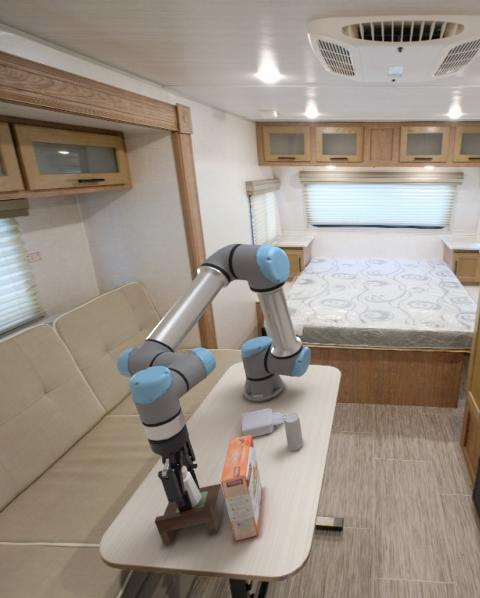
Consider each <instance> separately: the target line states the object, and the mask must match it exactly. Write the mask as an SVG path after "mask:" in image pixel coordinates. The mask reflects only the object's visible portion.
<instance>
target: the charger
mask: <svg viewBox="0 0 480 598" xmlns="http://www.w3.org/2000/svg"><path fill="white" fill-rule="evenodd" d="M287 414H288V413H286V414H283V412H276V413H274V411H273V409H272V408H270V407H268V408H263V409H258V410H253V411H248V412H244V413H242V423H241V433H242V436H247V435H252V436H253V438H255V437H260V436H263V435H264V436H265V435H268V434H272V432H273V431H275V430H274V429H275V427H274V426H278V425H281V424H283V423H284V418H285V416H286V415H287Z"/></svg>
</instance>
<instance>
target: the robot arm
mask: <svg viewBox="0 0 480 598" xmlns="http://www.w3.org/2000/svg"><path fill="white" fill-rule="evenodd" d="M290 264H291V263H290V260H289V257H288V256H287V254H286V252H285V251H284V250H283V249H282V248H280V247H279V246H276V245H275V246H274V245H269V244H246V243H232V244H227V245H225V246H223V247H221V248H220V249H218V250H216V251H215V252H214V253H212V254H211V255H209V256H208V257H207V258H206V259H205V260H204V261H203V262H202V263H201V264H200V265H199V267H198V268H197V271H196V272H197V275H196V276H195V278H194V279H193V280H192V281H191V283H190V284H189V286H187V288H186V289H185V290H184V291H183V292H182V294H181V295H180V297H178V299H177V300H176V301H175V302H174V304H173V305H172V306H171V307H170V309H169V310H168V311H167V312H166V313H165V314H164V316H163V317H162V319H161V320H160V321H159V322H158V324H156V326H155V327H154V328H153V330H152V331H151V332H150V334H149V335H148V336H147V337H146V339H144V341H143V342H142V343H141V344H140V346H136V347H130V348H127V349H125V350H123V351H122V352H121V353H120V354H119V356H118V359H117V361H116V368H117V371H118V373H120V374H121V375H122V376H124V377H127V378H130V379H129V382H128V385H129V391H130V395H131V400H132V402H133V403H134V405H135V408H136V410H137V414H138V416H139V418H140V421H141V426H142V427H143V429H144V432H145V434H146V437H147V441H148V444H149V446H150V449H151V452H152V453H154V454H155V455H158V456H160V457H161V463H162V465H163V469H162V470H160V471H158V473H157V477H158V479H159V480H160V481H161V484H162V486H163V490H164V492H165V496H166V499H167V503H172V502H176V504H177V506H178V509H179V512H182V511H186V510H191V509H193V507H192V504H191V500H190V497H189V494H188V491H187V490H185V488H184V482H183V476H182V467H183V466H186V467H187V472H190V474H191V476H192V478H193V480H194V482H195V484H196V486H197V488H198V490H199V488H201V487H200V484H199V481H198V478H197V475H196V471H195V469H197V468H198V463H194V462H196V460H197V458H196V455H195V452H194V449H193V445H192V442H191V440H190V433H189V429H188V426H187V423H186V419H185V416H184V413H183V410H182V406H181V402H180V399H181V398H182V397H184V396H185V395H187V393H188V392H190V390H192V389H193V388H194V387H196V386H197V385H198V384H200V383H201V382H202V381H204V380H206V379H207V378H208V376H209V375H211V373H213V372H214V370H215V369H216V367H217V361H216V358H215V355H214V354H213V352H211V351H210V350H208V349H207V348H205V347H196V348H193V349H191V350H189V351H188V352H187V353H180V352H177V351H178V349H179V348H180V346H181V345H182V343H183V342H184V341H185V340H186V338H187V336H188V335H189V334H190V332H191V331H192V330H193V329H194V327H195V326H196V325H197V323H198V321H199V320H200V318H202V316H203V315H204V313H205V312H206V310H207V309H208V308H209V307H210V305H211V304H212V303H213V301H214V299H216V297H217V296H218V294H219V293H220V291H221V290H222V289H226V288H227V287H228V286H229V285H230V283H231V282H234V281H237V280H238V281H246V282H247V284H248V288H249V290H250V291H251V292H253V293H255V294H256V296H257V299H258V302H259V306H260V308H261V312H262V314H263V318H264V321H265V324H266V328H267V331H268V333H269V336H266V335H264V336H258V337H254V338H251V339H249V340H247V341H246V342H244V343H243V344H242V346H241V348H240V353H241V355H240V356H241V360H242V364H243V365H242V366H243V369H244V370H243V371H244V375H245V381H244V387H243V394H244V398H245V400H247V401H249V402H253V403H262V402H264V403H265V402H267V401H268V402H269V401H271V400H273V399H275V398H277V397H278V396H280V395H281V393H282V392H283V391H284V388H285V387H284V385H285V384H284V381H283V379H282V377H281V376H285V377H292V378H293V377H296V378H299V377H302V376H303V375H305V373H306V372H307V371H308V369H309V366H310V363H311V360H312V359H311V358H312V350H311V348H310V347H308V346H303V342H302V339H301V338H300V337H298V336H296V330H295V327H294V324H293V320H292V317H291V316H292V315H291V312H290V308H289V305H288V302H287V297H286V294H285V290H284V286H285V285H286V283H287V280H288V278H289V276H290V273H291V271H290V268H291V266H290ZM121 375H120V376H121Z"/></svg>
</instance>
